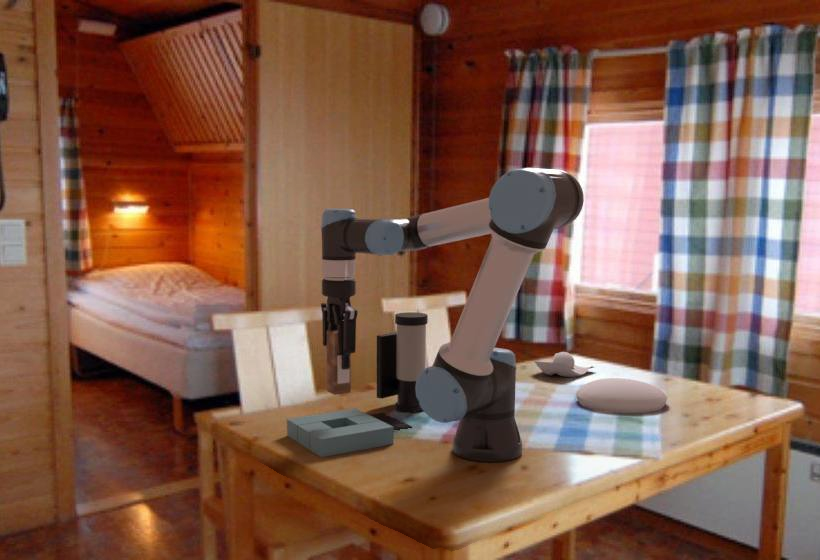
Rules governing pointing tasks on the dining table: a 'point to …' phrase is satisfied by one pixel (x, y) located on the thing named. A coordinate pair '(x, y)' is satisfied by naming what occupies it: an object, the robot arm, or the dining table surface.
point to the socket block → (339, 432)
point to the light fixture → (402, 360)
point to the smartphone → (391, 421)
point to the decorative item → (621, 396)
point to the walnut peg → (334, 365)
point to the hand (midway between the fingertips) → (338, 380)
